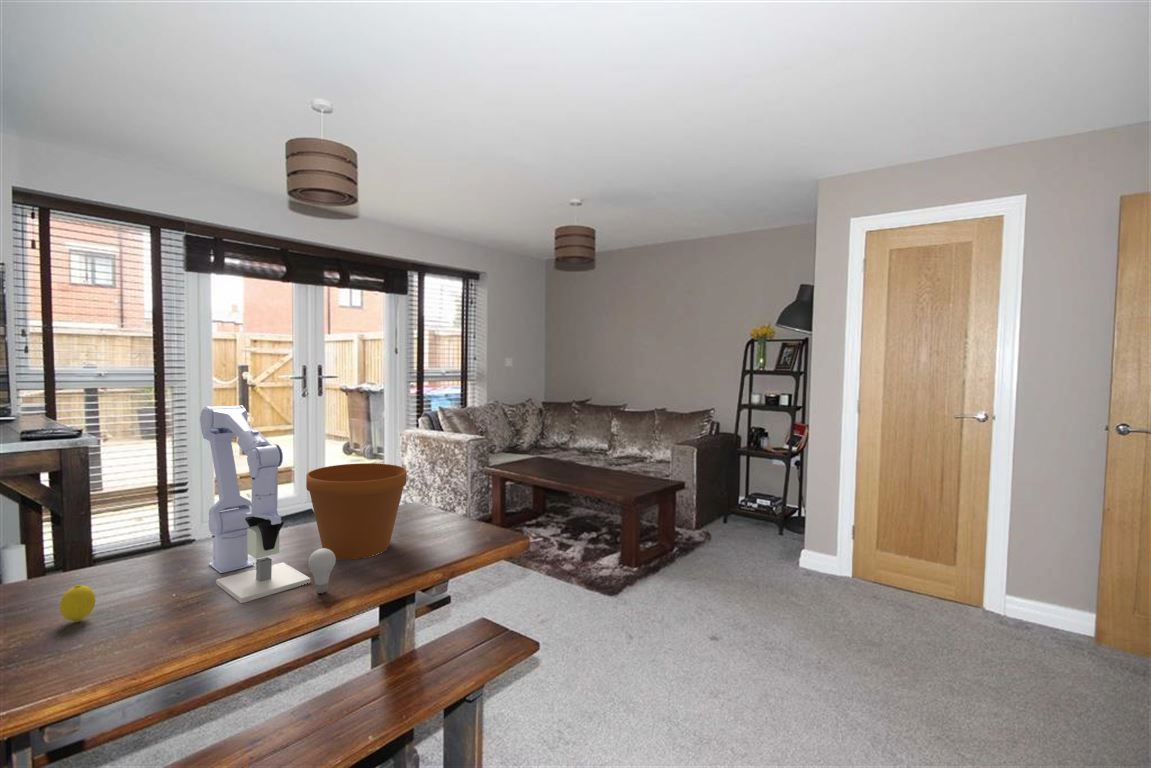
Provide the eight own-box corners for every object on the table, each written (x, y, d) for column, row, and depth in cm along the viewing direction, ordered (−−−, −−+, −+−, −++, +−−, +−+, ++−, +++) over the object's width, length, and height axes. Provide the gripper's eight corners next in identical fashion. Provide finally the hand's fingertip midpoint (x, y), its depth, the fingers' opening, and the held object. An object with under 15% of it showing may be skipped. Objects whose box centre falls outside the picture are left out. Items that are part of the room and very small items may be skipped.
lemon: (59, 621, 115) (59, 584, 114) (94, 613, 119) (94, 577, 118) (60, 631, 111) (60, 592, 110) (96, 622, 115) (96, 585, 114)
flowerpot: (344, 573, 145) (346, 486, 144) (285, 552, 159) (286, 473, 158) (424, 545, 168) (426, 470, 168) (366, 528, 183) (367, 460, 182)
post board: (216, 584, 136) (216, 559, 135) (282, 566, 148) (283, 544, 148) (241, 603, 126) (241, 577, 125) (310, 582, 138) (310, 559, 138)
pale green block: (247, 553, 136) (247, 527, 136) (270, 547, 140) (270, 522, 140) (256, 558, 133) (256, 532, 132) (279, 552, 137) (279, 527, 137)
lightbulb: (340, 591, 133) (341, 547, 133) (317, 600, 128) (318, 555, 128) (325, 586, 136) (325, 543, 136) (302, 594, 131) (302, 549, 131)
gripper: (235, 491, 137) (235, 543, 138) (259, 501, 128) (258, 557, 129) (265, 486, 143) (265, 537, 143) (290, 496, 134) (289, 550, 134)
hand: (264, 546), depth 136 cm, fingers closed on pale green block, 5 cm apart
